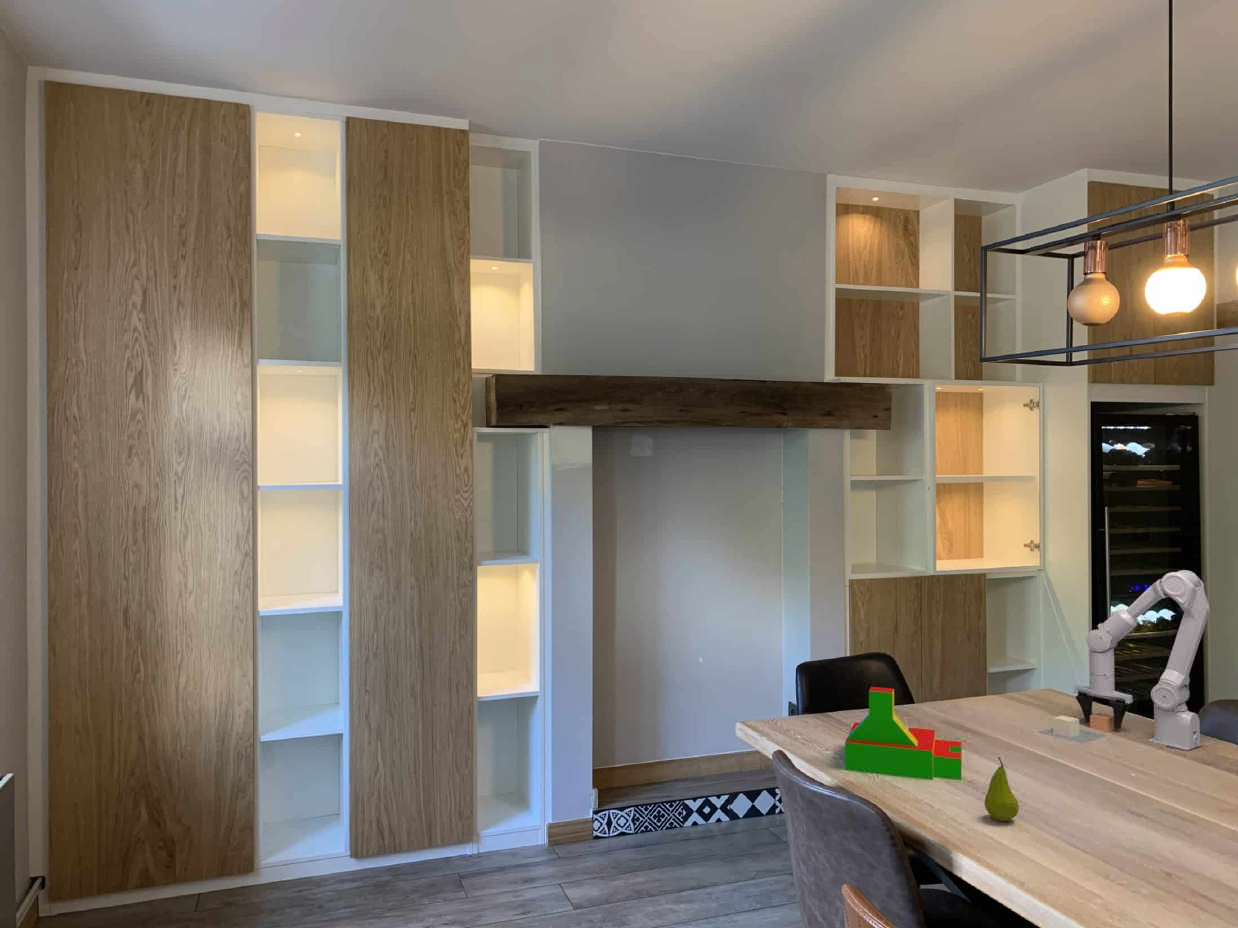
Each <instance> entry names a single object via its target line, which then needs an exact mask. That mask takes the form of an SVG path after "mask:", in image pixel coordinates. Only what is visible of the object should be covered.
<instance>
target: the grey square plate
mask: <svg viewBox="0 0 1238 928" xmlns="http://www.w3.org/2000/svg"><path fill="white" fill-rule="evenodd" d="M1037 733H1038V734H1043V735H1047V736H1051V737H1057V738H1060V739H1064V740H1067V741H1072V742H1078V743H1081V744H1085V743H1089V742H1091V741H1094V740H1098V739H1100V738H1105V737H1107V734H1101V733H1097V732H1093V731H1089V730H1083V729H1080V728H1079V734H1078V735H1075V736H1072V737H1068V736H1064V735H1060V734H1056V733H1053V727H1051V728H1048V729H1044V730H1041V731H1038V732H1037Z"/></svg>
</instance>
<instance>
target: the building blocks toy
mask: <svg viewBox="0 0 1238 928" xmlns="http://www.w3.org/2000/svg"><path fill="white" fill-rule="evenodd" d="M868 707H869V708H868V714H867V715H866V716H865V717H864V718H863V719H862V720H861V721H860V722H856V721H854V723H853V724H852V727H851V729H850V730H849V733H848V735H847V737H846V740H845V741H844V770H846V771H853V772H863V773H868V774H869V773H870V774H877V775H879V774H880V775H887V776H896V777H904V778H912V779H913V778H915V779H923V780H932V781H933V780H934V778H940V779H941V778H942V779H950V780H958V781H959V780H960V781H962V767H963V765H962V764H963V761H962V759H963V758H962V755H963V754H962V741H956V740H955V741H954V740H946V739H945V740H944V739H936V730H935V729H931V728H930V729H928V728H919V727H918V728H917V727H906V726H905V725H904V723H903V722H902V721H901V720H900V718H899V717H898V716H897V715H896V714H895V689H894V688H889V687H877V686H870V689H869V690H868Z"/></svg>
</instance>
